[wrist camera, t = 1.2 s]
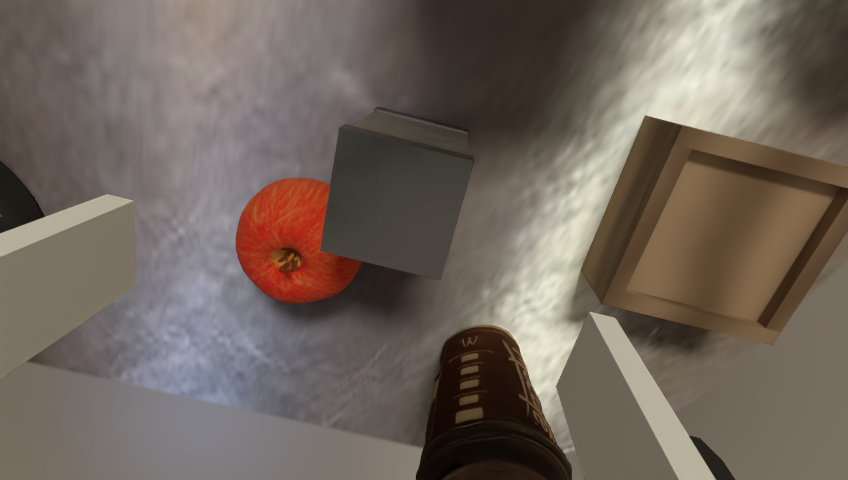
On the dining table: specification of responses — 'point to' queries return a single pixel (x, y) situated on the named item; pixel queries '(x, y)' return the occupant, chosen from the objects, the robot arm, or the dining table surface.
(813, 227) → the walnut stand
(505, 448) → the coffee cup
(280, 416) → the dining table surface
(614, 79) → the dining table surface
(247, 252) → the apple
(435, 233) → the block
